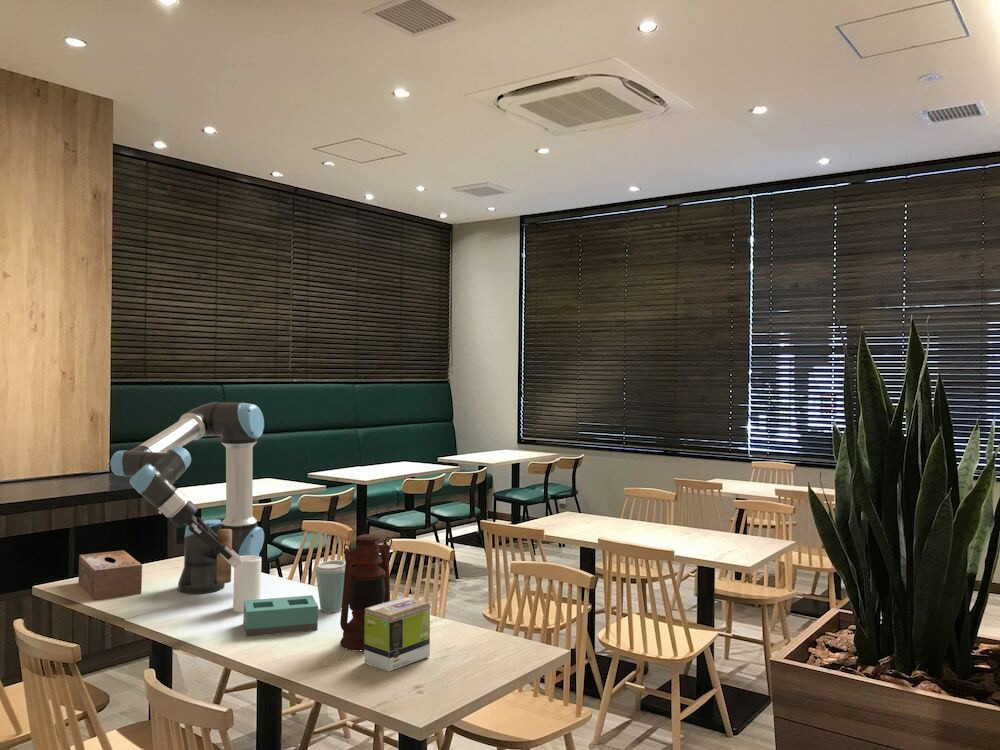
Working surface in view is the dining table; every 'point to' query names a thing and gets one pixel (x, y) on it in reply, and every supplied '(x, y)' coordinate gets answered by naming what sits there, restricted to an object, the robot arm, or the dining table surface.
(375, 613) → the tea box
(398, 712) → the dining table surface
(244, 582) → the cup
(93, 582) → the tissue box cover
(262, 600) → the socket block
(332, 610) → the disposable coffee cup
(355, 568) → the lantern
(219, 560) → the walnut pin
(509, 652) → the dining table surface
